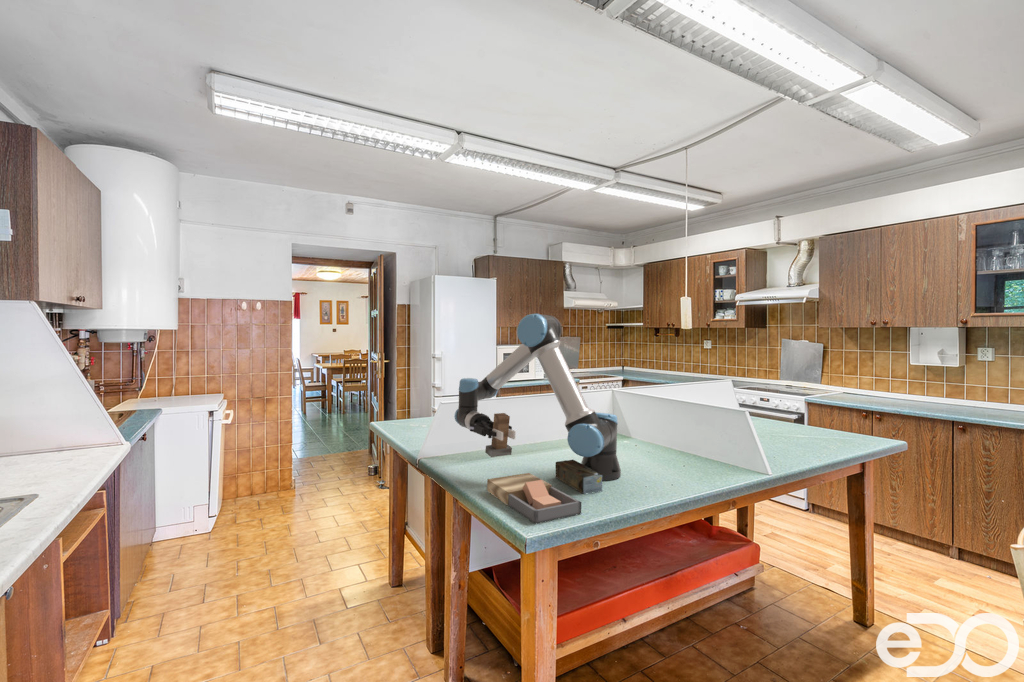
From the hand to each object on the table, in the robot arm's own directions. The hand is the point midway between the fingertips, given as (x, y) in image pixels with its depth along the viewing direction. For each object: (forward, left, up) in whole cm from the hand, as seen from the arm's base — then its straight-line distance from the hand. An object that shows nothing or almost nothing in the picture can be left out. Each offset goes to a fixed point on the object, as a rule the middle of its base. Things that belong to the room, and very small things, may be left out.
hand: (508, 435), depth 160 cm
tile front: (-14, +19, -14) cm, 28 cm away
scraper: (+4, -5, -8) cm, 10 cm away
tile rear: (-10, +13, -15) cm, 22 cm away
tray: (-14, +18, -18) cm, 28 cm away
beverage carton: (-24, -8, -18) cm, 31 cm away
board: (-5, +6, -18) cm, 19 cm away
